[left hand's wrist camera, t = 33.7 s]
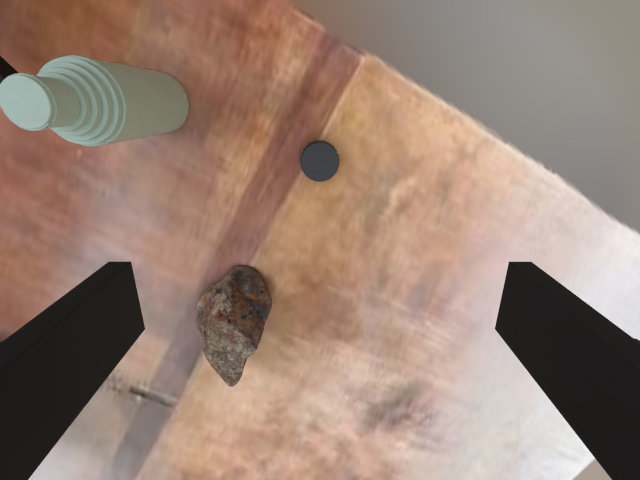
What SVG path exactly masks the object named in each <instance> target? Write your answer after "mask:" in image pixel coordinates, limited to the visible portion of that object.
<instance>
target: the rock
mask: <svg viewBox="0 0 640 480" xmlns="http://www.w3.org/2000/svg"><path fill="white" fill-rule="evenodd" d="M197 303H198V306H197V309H198V316H197V318H196V325H197V327H198V329H199V330H200V331H201V335H202V337H203V339H204V341H205V347H204V349H203V351H204V354H205V356H206V359H207V360H208V362H209V363H210V365H211V366H212V367H213V369H214V370H215V371H216V372H217V373H218V374H219V375H220V377H221V378H222V379H223V380H224V381H225V382H226V384H227V385H228V386H231V387H233V386H234V385H236V384H237V383H238V381H239V380H240V378H241V376H242V372H243V368H244V365H245V363H246V360H247V357H248V356H250V355H252V354H253V353H254V352H255V351H256V349H257V348H258V344H259V342H260V340H261V336H262V333H263V330H264V325H265V321H266V320H267V317H268V315H269V313H270V310H271V307H272V298H271V296H270V295H269V293H268V291H267V290H266V289H265V285H264V282H263V280H262V278H261V277H260V275H259V274H258V272H257V271H256V270H255V269H253V268H251V267H247V266H236V267H233V268H232V270H231V271H230V272H228V274H227V275H226V277H225V278H224V279H223V280H221V281H219V282H217V283H216V284H215V283H214V284H212V285H211V286H210V287H209V288H208V289H207V290H206V291H205V292H204V293H203V295H202V296H201V297H200V299H199V300H198V302H197Z"/></svg>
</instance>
